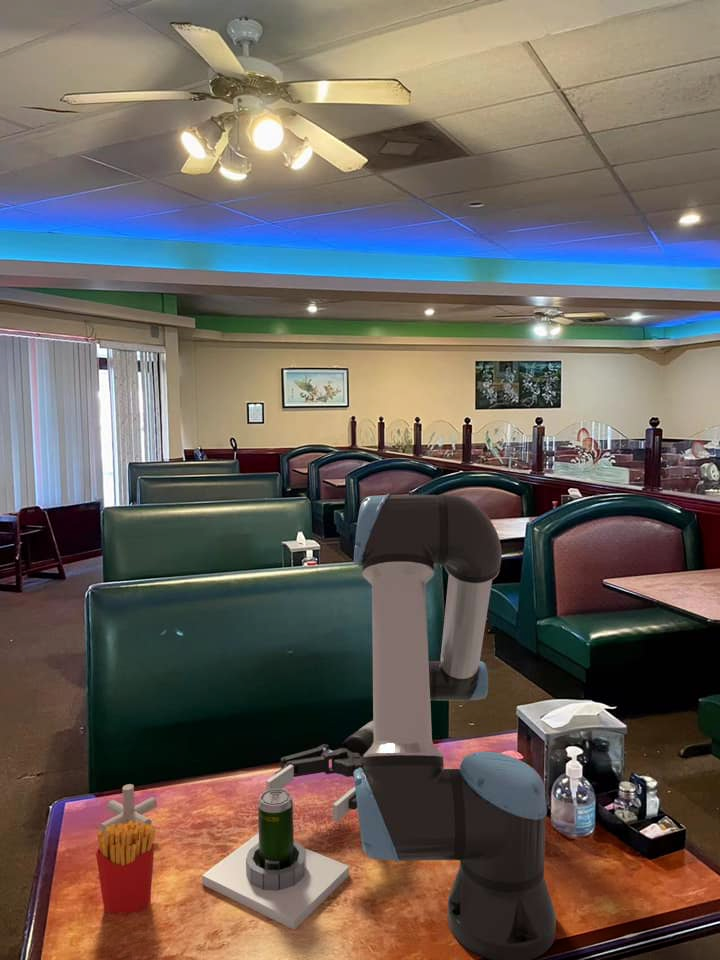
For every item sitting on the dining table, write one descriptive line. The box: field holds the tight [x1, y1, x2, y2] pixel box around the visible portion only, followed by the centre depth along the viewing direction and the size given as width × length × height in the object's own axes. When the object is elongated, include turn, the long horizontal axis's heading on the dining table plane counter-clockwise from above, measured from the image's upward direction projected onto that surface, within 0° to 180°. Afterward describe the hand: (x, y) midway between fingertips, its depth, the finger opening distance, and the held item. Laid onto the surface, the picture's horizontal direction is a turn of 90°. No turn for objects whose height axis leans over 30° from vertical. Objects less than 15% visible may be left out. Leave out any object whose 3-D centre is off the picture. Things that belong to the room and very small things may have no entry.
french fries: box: [95, 820, 157, 914], centre depth 104 cm, size 8×4×12 cm, turn 93°
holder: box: [201, 832, 350, 931], centre depth 109 cm, size 18×14×4 cm
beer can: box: [257, 788, 295, 870], centre depth 109 cm, size 5×5×12 cm
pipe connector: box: [99, 783, 158, 836], centre depth 119 cm, size 10×10×10 cm
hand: (300, 800), depth 114 cm, fingers open, 13 cm apart
